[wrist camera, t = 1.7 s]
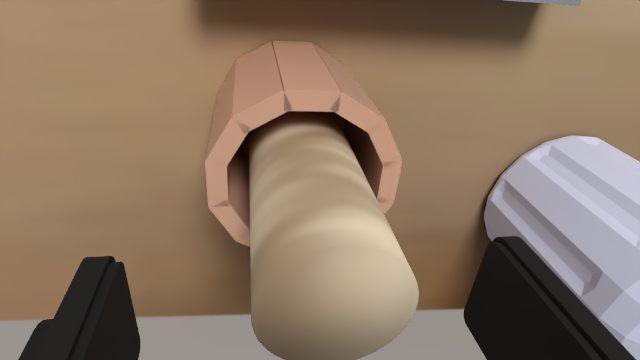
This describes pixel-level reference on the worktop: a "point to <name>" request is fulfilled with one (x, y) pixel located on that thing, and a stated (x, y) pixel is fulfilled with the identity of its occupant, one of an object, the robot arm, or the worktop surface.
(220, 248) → the worktop surface
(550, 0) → the tray
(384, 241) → the dowel
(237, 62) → the cup
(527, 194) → the soap bottle
